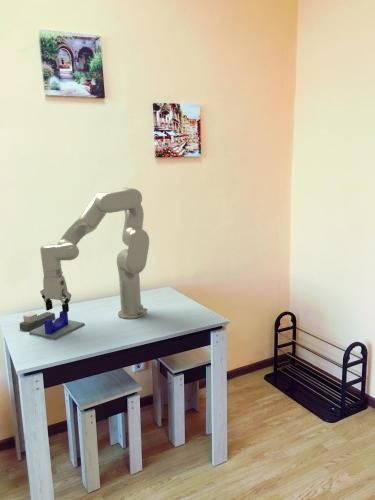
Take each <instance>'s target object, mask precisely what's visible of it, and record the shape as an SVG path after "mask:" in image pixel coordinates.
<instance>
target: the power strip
mask: <svg viewBox="0 0 375 500" xmlns="http://www.w3.org/2000/svg"><path fill="white" fill-rule="evenodd" d="M37 314H38V313H34V312H28V313H26V314H23V315H22V317H23V321H21V322H19V330H20V331H25V332H30V331H33V330H35V329H37V328H39V327H41V326H44V320H46V319H49V320H52V322H53V321H55V320H56V314H55V313H54V312H49V311H46V312H44V313H40V314H39V315H37Z"/></svg>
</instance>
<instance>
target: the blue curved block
mask: <svg viewBox="0 0 375 500" xmlns="http://www.w3.org/2000/svg"><path fill="white" fill-rule="evenodd" d="M68 315H69V314H68V312H66V313H63V311H61V310H60V311H59V316H58V317H56V318H55V320H54V321H55V322H54V323H53V321H52V320H49V319H46V320H44V325H45V334H53V333H55V332H56V331H58V330H60V329H61V328H63V327H65V326H67V325H68V320H69V316H68ZM44 325H43V326H44Z"/></svg>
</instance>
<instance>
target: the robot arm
mask: <svg viewBox="0 0 375 500" xmlns="http://www.w3.org/2000/svg"><path fill="white" fill-rule="evenodd" d="M142 201H143V195H142V193H141V191H140V190H138V189H136V188H132V187H131V188H130V187H122V188H119V189H118V190H117V191H115V192H114V191H113V192H97V194H95V195H94V196H93V198H92V199H91V200H90V202H89V203H88V204H87V206H86V208H85V209H84V211H82V213H81V215H80V216H79V217H78V219H76V220H75V221H74V223H72V225H71V226H70V227H68V229H67V230H66V231H65V232H64V234H63V235H62V236H61V238H60V239H59V241H58V243H57V244H56V243H49V244H43V245H42V246H41V247H40V250H39V251H40V257H41V265H42V272H43V279H42V280H43V281H42V283H43V284H42V285H43V289H42V290H40V291H39V292H40V295H41V297H42V299H43V302H44V304H45V310H46V312H49V311H50V310H52V309H53V308H54V307H53V301H52V300H55V301H60V302H61V303H62V304H61V310H62V311H63V313H66V312H67V313H68V312H69V311H70V308H69V307H70V306H69V303H70V301H71V297H72V294H71V293H70V292H69V291H68V286H67V282H66V279H65V278H66V277H65V276H64V274H63V273H64V272H63V270H62V263H61V261H72V260H75V259H77V258H78V257H79V254H80V249H79V247H78V246H77V245H78V243H79V242H80V241H81V240H82V239H83V238H84V237H85V236H87V235H88V234H90V233H92V232H94V231H95V230H96V229H97V227H98V226H99V225H100V223H101V222H102V220H103V219H104V218H105V216H106V215H107V214H112V213H113V214H114V213H117V212H122V211H123V212H124V224H123V229H122V235H121V239H122V242H123V244H124V245H125V246H126V247H128V248H126V249H122V250H121V251H119V253H118V254H117V256H116V267H117V272H118V281H119V294H120V297H119V298H120V310H119V311H118V313H117V316H118V317H120V318H121V319H127V320H128V319H129V320H133V319H137V318H141V317H143V316H144V315H147V313H148V308H145V307H144V305H143V304H142V302H141V300H142V299H141V298H142V297H141V279H140V273H142V271H144V269H145V268H146V265H147V262H148V261H147V260H148V254H149V249H150V248H149V247H150V237H149V233H147V231H146V230H145V229H143V228H144V227H143V226H144V216H145V215H144V208H143V205H142Z"/></svg>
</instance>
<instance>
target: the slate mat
mask: <svg viewBox="0 0 375 500" xmlns="http://www.w3.org/2000/svg"><path fill="white" fill-rule="evenodd" d="M52 322H53V323H54V322H55V320H53V321H52ZM85 325H86V324H85V322H82V321H76V320H71V319H68V325H67V326H65V327H63V328H61V329H60V330H58V331H56V332H55V333H53V334H45V325H42V326H39V327H37V328H35V329H33V330H30V331H28V333H29V334H28V335H31V336H36V337H39V338H45V339H48V340H53V341H56V340H59V339H60V338H62V337H64V336H65V335H68V334H70V333H72V332H74V331H76V330H79V328H82V327H83V326H85Z"/></svg>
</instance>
